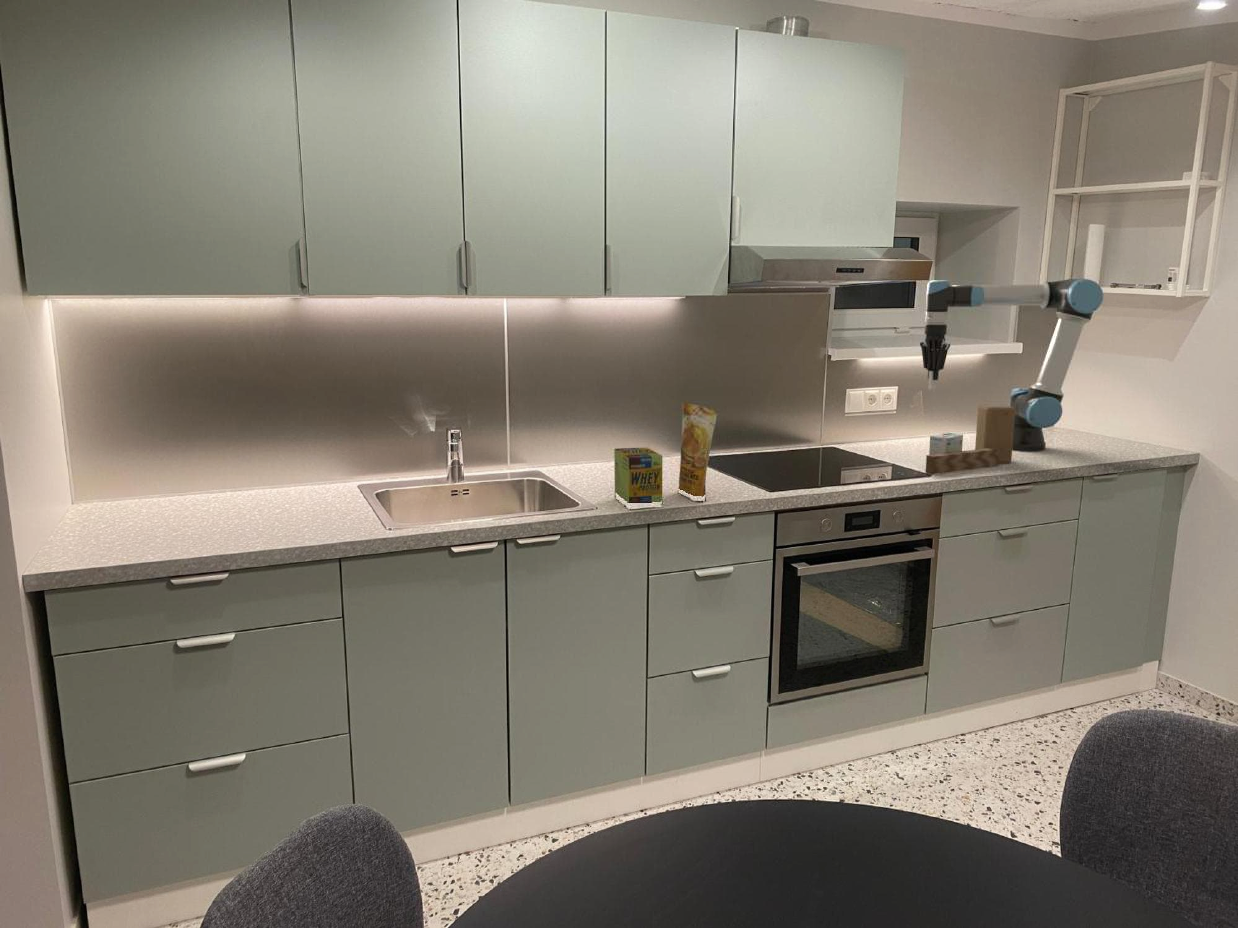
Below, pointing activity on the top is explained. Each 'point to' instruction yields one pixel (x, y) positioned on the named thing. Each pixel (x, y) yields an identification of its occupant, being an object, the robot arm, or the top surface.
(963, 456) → the walnut board
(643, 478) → the protein box
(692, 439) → the pancake mix bag
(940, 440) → the light bulb box
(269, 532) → the top surface
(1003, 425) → the wooden block
